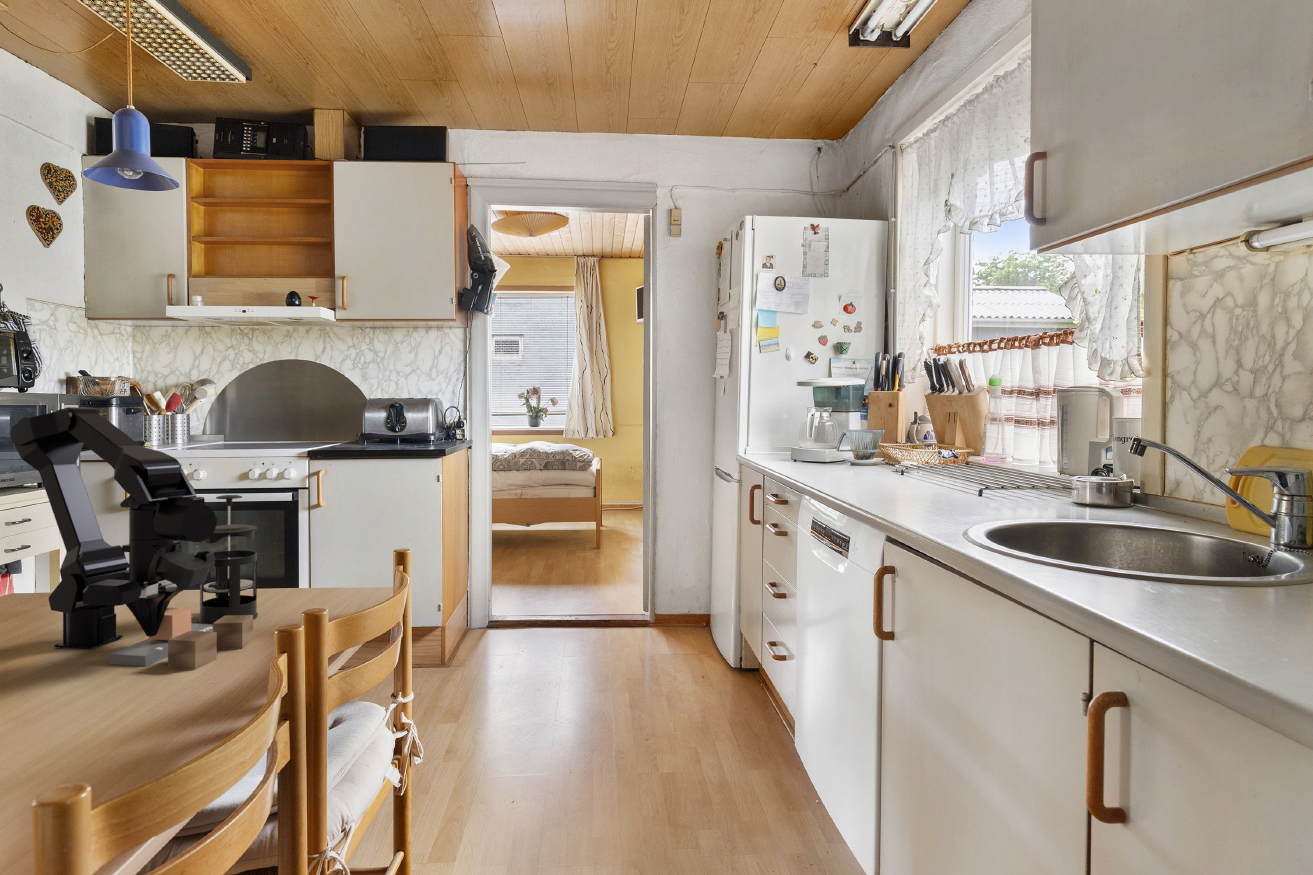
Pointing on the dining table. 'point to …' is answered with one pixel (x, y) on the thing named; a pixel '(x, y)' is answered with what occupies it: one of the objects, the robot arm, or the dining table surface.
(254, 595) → the french press
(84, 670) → the dining table surface
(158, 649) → the base
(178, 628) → the salmon pink cube
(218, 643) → the walnut block far
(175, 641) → the walnut block near
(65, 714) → the dining table surface
